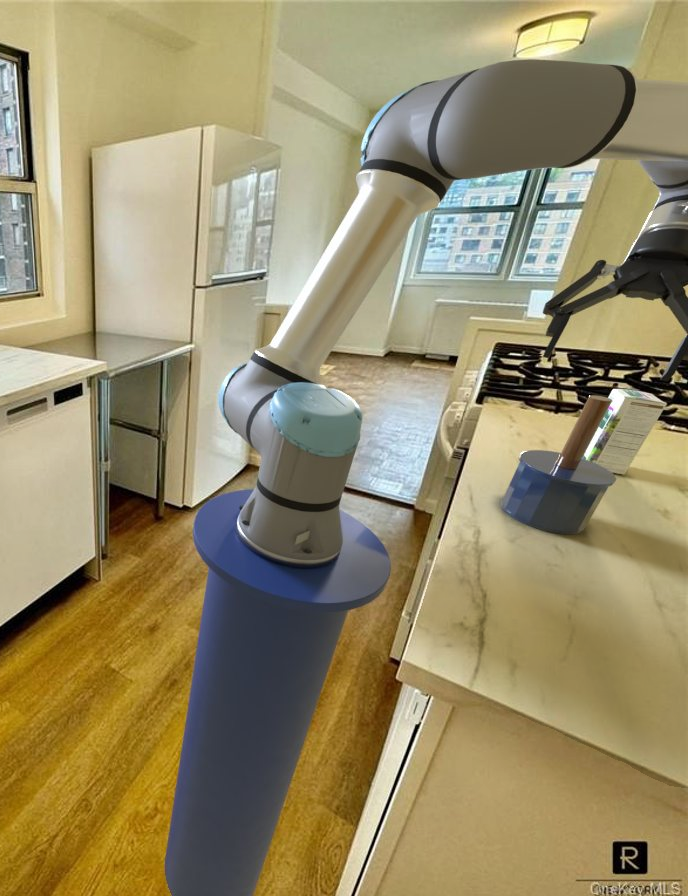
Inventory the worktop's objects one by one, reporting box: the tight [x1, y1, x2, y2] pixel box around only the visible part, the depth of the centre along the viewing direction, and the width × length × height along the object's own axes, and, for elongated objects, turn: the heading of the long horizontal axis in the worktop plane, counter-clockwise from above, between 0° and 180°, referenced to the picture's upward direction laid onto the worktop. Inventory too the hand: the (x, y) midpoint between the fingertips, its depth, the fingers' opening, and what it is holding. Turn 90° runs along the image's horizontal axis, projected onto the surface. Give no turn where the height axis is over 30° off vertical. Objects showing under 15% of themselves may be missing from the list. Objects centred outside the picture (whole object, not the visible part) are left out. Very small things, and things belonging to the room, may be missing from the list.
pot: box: [500, 461, 610, 535], centre depth 75 cm, size 10×10×8 cm
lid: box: [518, 394, 617, 488], centre depth 71 cm, size 11×11×12 cm
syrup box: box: [582, 388, 668, 475], centre depth 89 cm, size 6×6×14 cm
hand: (603, 365), depth 74 cm, fingers open, 13 cm apart
